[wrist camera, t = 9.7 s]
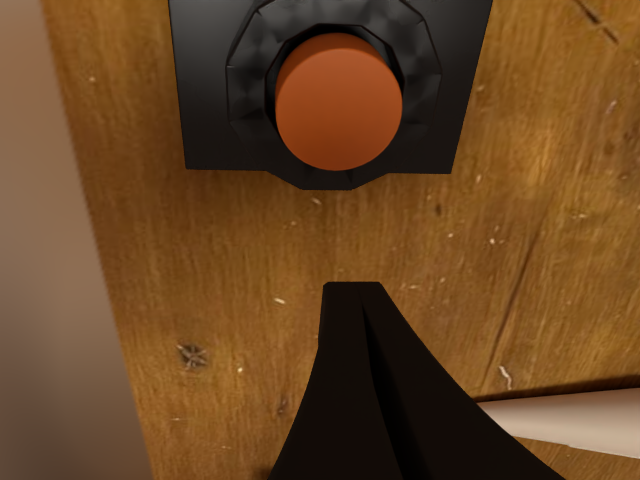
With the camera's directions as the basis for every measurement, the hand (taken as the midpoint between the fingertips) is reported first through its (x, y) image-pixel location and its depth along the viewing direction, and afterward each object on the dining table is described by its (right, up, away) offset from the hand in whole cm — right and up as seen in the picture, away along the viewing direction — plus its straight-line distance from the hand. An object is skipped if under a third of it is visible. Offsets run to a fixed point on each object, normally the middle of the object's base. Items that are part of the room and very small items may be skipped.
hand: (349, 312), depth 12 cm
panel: (-1, +8, +6) cm, 10 cm away
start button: (0, +6, +3) cm, 7 cm away
